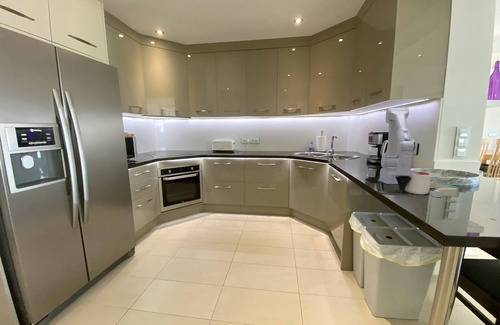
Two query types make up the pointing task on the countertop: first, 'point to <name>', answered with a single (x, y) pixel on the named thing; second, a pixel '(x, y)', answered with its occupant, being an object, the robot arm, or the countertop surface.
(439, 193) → the clip post
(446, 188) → the end holder
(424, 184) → the cup
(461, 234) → the countertop surface
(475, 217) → the countertop surface
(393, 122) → the robot arm
